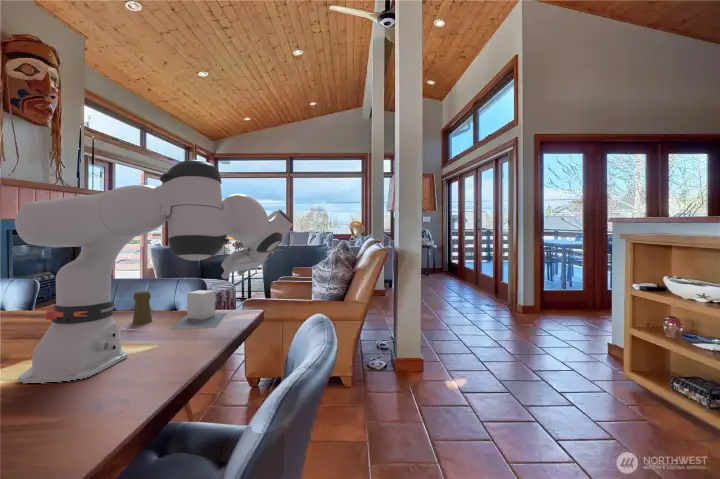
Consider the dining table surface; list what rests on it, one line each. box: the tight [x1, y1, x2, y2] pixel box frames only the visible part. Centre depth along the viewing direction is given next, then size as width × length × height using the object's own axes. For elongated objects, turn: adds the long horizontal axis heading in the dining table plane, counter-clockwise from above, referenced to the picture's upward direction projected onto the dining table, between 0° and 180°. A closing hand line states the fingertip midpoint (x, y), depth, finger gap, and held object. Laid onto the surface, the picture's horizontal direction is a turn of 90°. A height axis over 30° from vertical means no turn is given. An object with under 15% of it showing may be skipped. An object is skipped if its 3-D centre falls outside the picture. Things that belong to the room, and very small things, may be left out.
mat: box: [169, 312, 228, 330], centre depth 138 cm, size 22×14×1 cm, turn 10°
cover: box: [186, 289, 216, 319], centre depth 143 cm, size 7×7×9 cm
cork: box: [132, 290, 153, 325], centre depth 135 cm, size 6×6×11 cm
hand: (231, 275), depth 140 cm, fingers open, 8 cm apart
